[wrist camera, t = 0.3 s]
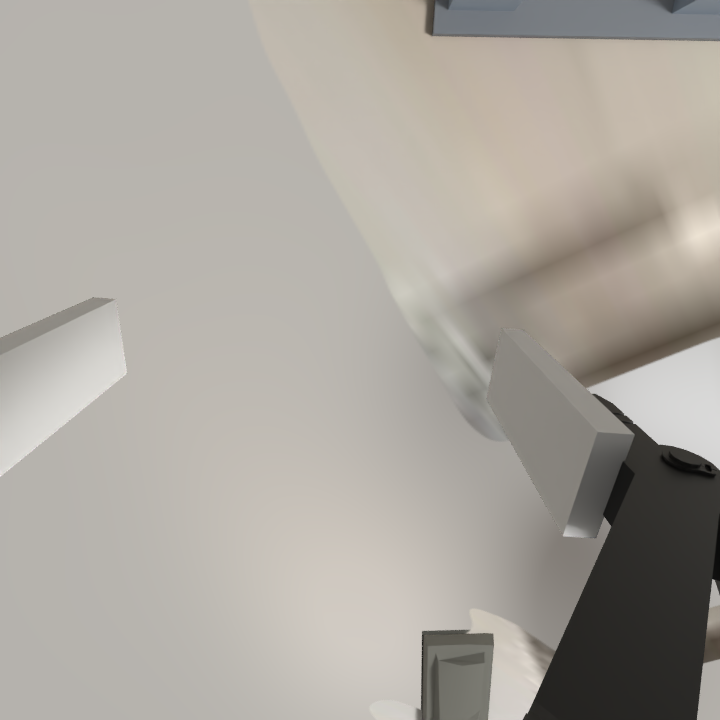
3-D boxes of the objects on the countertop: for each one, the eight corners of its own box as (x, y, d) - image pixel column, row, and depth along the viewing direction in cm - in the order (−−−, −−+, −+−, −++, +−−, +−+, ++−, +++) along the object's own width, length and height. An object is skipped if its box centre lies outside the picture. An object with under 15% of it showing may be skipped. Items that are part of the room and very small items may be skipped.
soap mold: (420, 716, 69) (423, 743, 66) (421, 630, 61) (425, 656, 58) (485, 715, 69) (491, 741, 65) (494, 628, 61) (502, 654, 58)
